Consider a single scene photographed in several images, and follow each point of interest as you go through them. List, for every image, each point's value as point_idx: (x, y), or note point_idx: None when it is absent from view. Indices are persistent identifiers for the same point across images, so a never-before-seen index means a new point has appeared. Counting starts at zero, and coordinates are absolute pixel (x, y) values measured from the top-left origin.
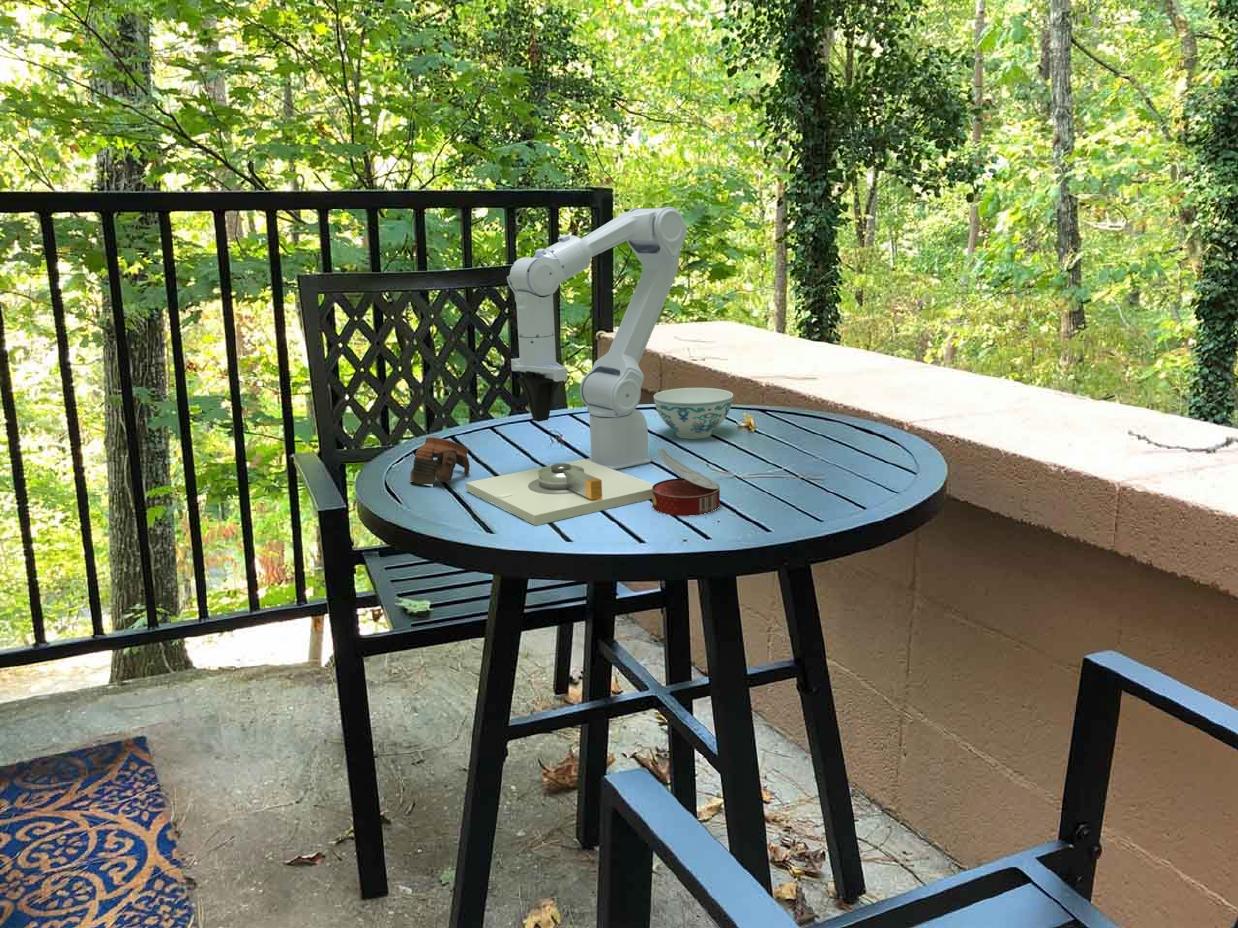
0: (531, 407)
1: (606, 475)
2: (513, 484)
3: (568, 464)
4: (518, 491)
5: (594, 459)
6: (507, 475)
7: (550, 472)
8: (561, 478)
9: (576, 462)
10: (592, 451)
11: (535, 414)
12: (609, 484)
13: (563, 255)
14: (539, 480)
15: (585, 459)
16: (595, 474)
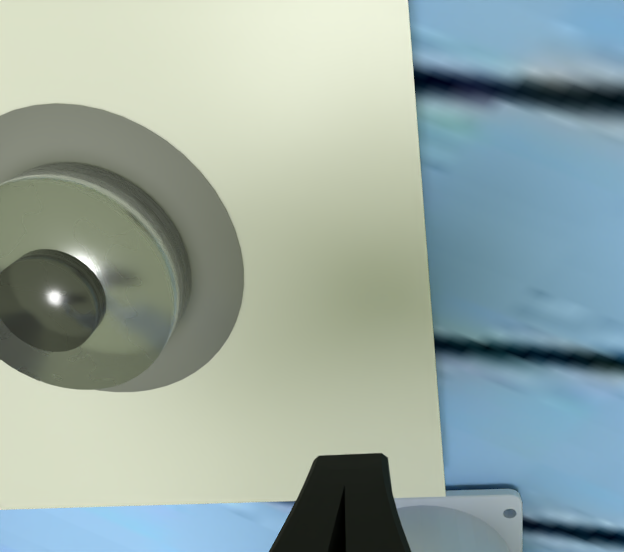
0: (350, 536)
1: (151, 451)
2: (194, 61)
3: (55, 346)
4: (47, 34)
5: (422, 521)
6: (391, 98)
7: (45, 240)
8: None
9: (416, 454)
10: (441, 549)
11: (300, 493)
12: (23, 407)
13: None
14: (65, 171)
15: (516, 511)
16: (185, 429)
